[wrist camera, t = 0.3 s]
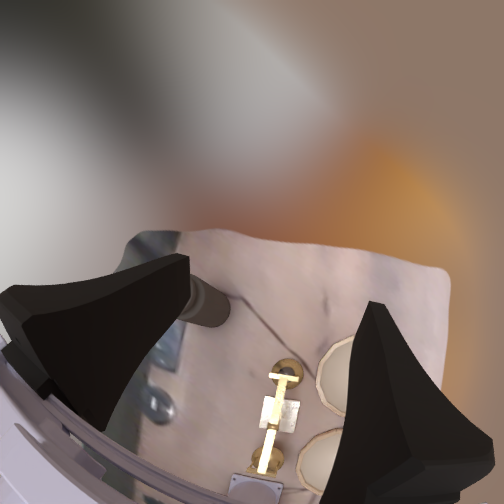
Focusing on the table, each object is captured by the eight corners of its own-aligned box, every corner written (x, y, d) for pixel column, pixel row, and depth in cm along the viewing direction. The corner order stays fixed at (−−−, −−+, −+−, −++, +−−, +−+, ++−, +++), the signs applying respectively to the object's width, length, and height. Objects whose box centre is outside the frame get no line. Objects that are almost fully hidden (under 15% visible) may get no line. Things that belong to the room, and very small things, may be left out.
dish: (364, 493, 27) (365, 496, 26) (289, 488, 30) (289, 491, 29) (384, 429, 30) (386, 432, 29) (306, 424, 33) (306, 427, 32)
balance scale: (285, 465, 31) (277, 490, 24) (252, 459, 33) (237, 482, 25) (307, 360, 37) (306, 364, 29) (273, 356, 38) (262, 357, 30)
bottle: (236, 299, 42) (198, 273, 28) (220, 334, 41) (173, 324, 27) (205, 284, 44) (157, 253, 30) (189, 317, 43) (134, 299, 29)
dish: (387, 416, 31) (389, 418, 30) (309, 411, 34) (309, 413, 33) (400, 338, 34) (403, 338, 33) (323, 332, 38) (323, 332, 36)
